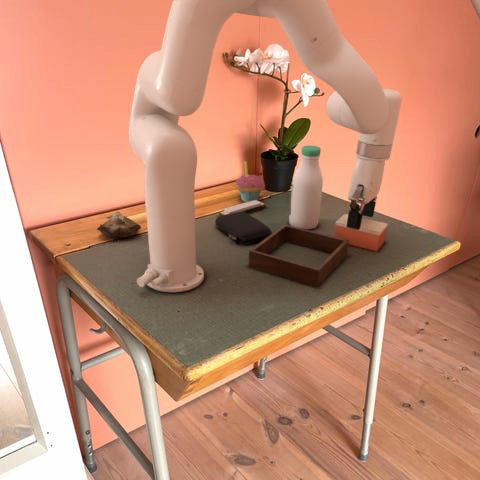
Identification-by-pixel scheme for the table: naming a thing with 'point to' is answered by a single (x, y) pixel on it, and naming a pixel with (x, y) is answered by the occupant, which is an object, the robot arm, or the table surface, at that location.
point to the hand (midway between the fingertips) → (359, 221)
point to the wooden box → (293, 269)
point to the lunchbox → (362, 233)
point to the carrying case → (243, 227)
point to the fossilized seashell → (119, 226)
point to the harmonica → (244, 207)
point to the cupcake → (249, 186)
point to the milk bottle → (306, 190)
